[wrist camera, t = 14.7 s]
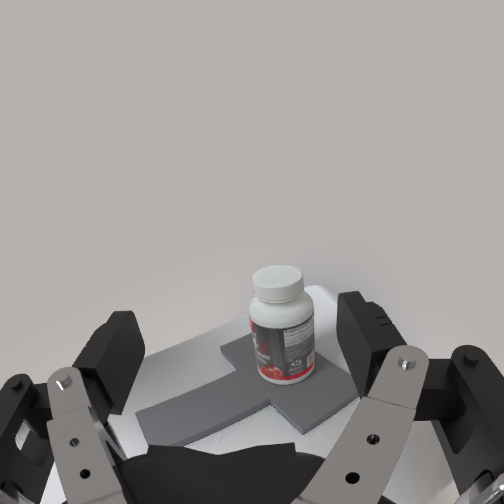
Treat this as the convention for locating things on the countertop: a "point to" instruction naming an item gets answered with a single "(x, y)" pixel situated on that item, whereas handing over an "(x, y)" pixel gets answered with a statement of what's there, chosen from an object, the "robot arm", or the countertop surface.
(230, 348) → the t mat
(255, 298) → the pill bottle
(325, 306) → the countertop surface
